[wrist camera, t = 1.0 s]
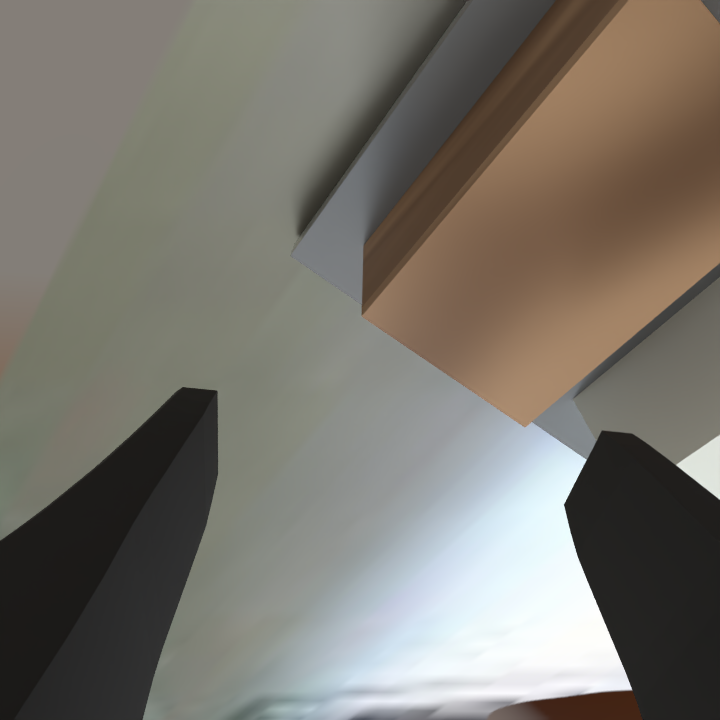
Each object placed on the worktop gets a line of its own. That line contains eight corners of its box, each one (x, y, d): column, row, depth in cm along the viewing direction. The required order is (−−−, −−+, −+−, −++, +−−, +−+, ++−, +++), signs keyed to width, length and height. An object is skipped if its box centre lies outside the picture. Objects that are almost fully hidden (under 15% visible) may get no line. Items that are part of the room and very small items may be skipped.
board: (907, 279, 18) (939, 293, 17) (628, 476, 24) (640, 496, 23) (559, -131, 13) (575, -145, 12) (294, 243, 18) (290, 255, 17)
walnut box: (702, 128, 15) (836, 164, 11) (488, 338, 19) (525, 427, 14) (569, -17, 13) (665, -43, 9) (363, 246, 17) (361, 316, 13)
